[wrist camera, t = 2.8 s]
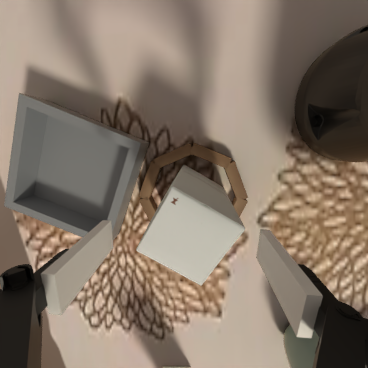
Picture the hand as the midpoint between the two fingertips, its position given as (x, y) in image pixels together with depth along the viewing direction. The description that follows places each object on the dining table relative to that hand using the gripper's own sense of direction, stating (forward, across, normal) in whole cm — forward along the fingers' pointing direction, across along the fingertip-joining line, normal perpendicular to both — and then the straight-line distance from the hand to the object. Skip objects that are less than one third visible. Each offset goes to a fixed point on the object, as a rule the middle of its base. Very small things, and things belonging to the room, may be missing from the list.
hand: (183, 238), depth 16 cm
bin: (+13, -16, +3) cm, 21 cm away
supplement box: (+13, 0, 0) cm, 13 cm away
